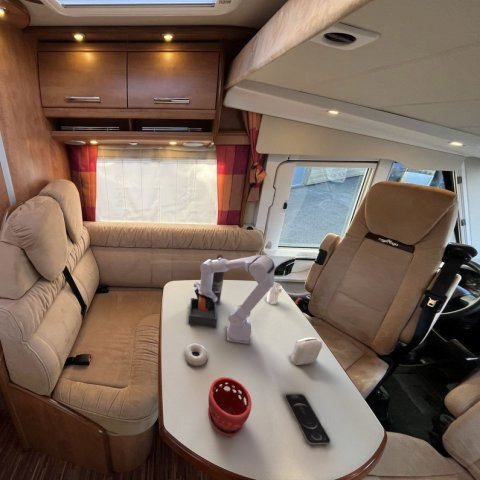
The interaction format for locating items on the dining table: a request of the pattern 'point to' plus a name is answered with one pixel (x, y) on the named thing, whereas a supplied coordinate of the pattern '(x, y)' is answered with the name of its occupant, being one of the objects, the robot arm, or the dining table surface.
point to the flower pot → (228, 406)
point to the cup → (274, 293)
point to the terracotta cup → (202, 303)
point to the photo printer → (306, 351)
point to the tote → (202, 314)
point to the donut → (195, 359)
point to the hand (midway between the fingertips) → (203, 304)
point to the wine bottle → (217, 283)
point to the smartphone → (307, 419)
